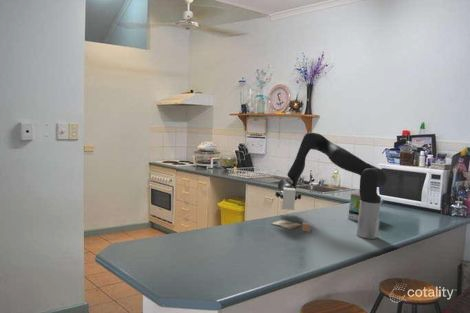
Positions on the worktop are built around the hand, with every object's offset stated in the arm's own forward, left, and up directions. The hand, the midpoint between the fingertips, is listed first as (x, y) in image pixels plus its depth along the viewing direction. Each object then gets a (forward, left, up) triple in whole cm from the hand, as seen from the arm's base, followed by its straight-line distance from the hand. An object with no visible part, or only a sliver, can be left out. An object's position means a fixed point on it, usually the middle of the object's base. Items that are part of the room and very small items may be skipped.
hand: (289, 197), depth 202 cm
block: (-10, -1, -15) cm, 18 cm away
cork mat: (+1, -2, -15) cm, 15 cm away
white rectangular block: (+1, -2, -6) cm, 6 cm away
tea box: (-20, -51, -15) cm, 57 cm away
